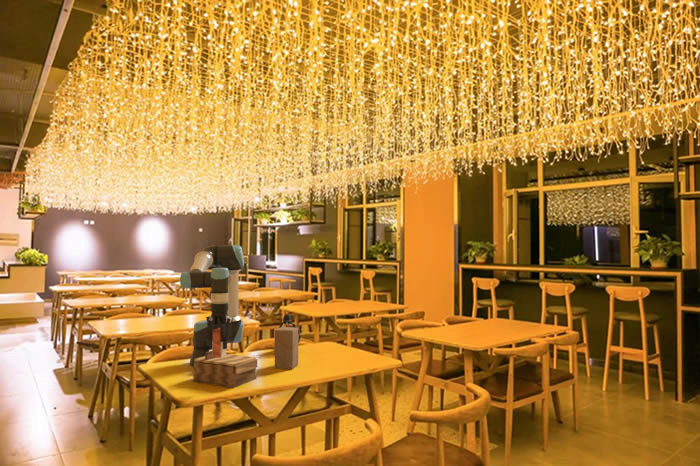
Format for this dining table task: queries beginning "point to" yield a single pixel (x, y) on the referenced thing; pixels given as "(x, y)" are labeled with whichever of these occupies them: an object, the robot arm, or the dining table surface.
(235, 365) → the lid
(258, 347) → the dining table surface
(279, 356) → the wooden block
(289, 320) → the teapot
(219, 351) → the reddish-brown wooden bar
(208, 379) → the toolbox
